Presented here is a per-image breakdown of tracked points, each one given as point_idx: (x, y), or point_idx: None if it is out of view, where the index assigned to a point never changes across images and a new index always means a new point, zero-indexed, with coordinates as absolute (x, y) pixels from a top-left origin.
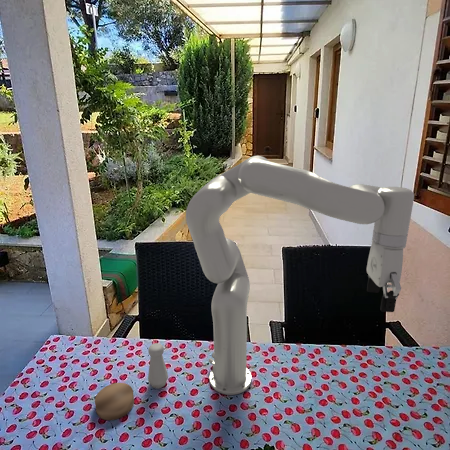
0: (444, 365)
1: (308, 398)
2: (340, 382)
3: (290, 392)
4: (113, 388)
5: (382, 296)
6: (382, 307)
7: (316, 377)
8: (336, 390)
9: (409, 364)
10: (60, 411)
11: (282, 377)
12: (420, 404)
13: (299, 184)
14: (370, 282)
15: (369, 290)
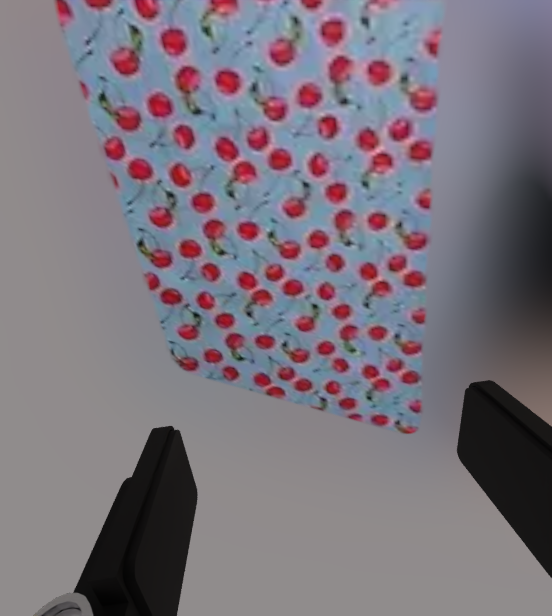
0: (377, 425)
1: (231, 107)
2: (302, 204)
3: (242, 50)
4: None
5: (103, 577)
6: (142, 461)
7: (312, 139)
8: (272, 190)
9: (376, 367)
10: None
11: (299, 22)
12: (263, 357)
13: None
14: (550, 472)
15: (476, 404)
